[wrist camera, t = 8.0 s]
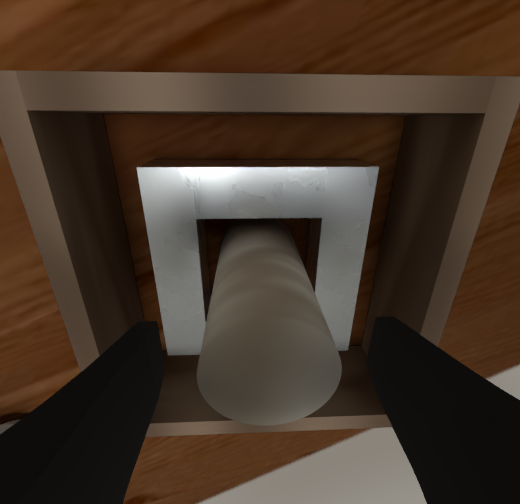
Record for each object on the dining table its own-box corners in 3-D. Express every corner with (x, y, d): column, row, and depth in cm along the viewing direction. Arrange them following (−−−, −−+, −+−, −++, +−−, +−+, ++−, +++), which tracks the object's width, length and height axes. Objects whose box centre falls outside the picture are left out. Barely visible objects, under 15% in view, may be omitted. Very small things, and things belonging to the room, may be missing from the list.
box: (432, 91, 13) (528, 76, 9) (373, 356, 20) (411, 426, 15) (74, 88, 13) (-22, 70, 8) (137, 363, 19) (103, 438, 15)
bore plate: (358, 159, 14) (379, 167, 12) (335, 322, 19) (347, 350, 16) (154, 159, 14) (136, 167, 12) (177, 325, 18) (167, 355, 16)
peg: (298, 215, 16) (356, 322, 7) (288, 280, 17) (326, 426, 9) (223, 209, 15) (196, 314, 7) (220, 276, 17) (196, 424, 9)
